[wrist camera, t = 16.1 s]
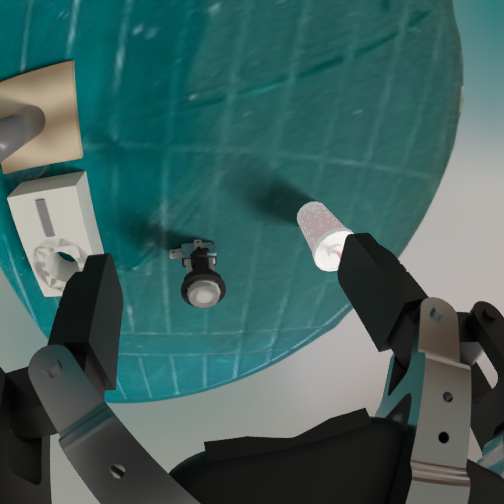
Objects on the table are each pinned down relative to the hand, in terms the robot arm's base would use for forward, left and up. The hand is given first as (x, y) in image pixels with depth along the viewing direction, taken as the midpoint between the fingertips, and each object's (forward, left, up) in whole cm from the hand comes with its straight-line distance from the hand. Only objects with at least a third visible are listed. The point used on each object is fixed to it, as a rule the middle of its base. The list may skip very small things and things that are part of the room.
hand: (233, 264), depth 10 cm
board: (-2, -20, -28) cm, 35 cm away
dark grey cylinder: (-2, -20, -27) cm, 34 cm away
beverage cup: (+15, +16, -28) cm, 36 cm away
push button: (+19, -1, -28) cm, 34 cm away
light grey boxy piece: (+14, -19, -28) cm, 37 cm away
